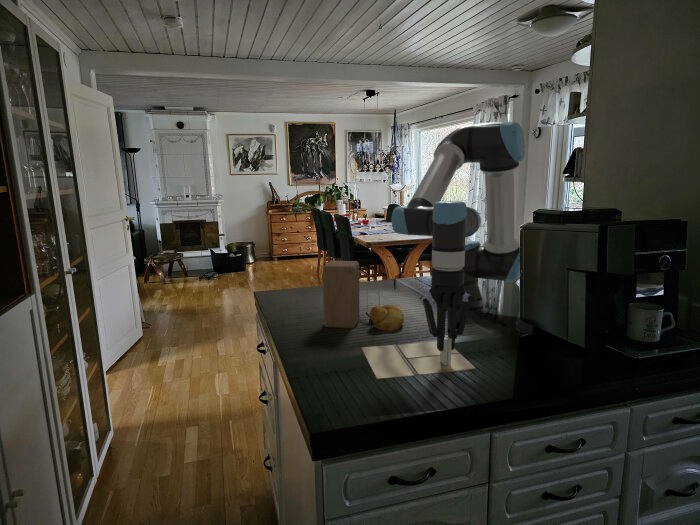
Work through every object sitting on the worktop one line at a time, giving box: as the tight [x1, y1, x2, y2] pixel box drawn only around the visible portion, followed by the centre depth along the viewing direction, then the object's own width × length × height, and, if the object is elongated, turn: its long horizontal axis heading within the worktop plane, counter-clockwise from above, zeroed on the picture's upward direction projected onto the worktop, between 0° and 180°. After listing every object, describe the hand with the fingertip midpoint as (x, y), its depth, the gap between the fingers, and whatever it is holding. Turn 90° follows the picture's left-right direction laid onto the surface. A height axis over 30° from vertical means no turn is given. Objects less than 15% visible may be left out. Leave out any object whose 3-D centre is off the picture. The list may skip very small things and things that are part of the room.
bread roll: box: [369, 304, 405, 331], centre depth 135 cm, size 13×10×8 cm
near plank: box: [407, 353, 477, 376], centre depth 106 cm, size 14×9×1 cm, turn 99°
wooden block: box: [322, 260, 360, 329], centre depth 138 cm, size 10×10×20 cm
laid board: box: [360, 344, 418, 380], centre depth 108 cm, size 10×19×1 cm, turn 9°
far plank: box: [396, 340, 460, 359], centre depth 115 cm, size 14×9×1 cm, turn 99°
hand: (445, 362), depth 105 cm, fingers closed
